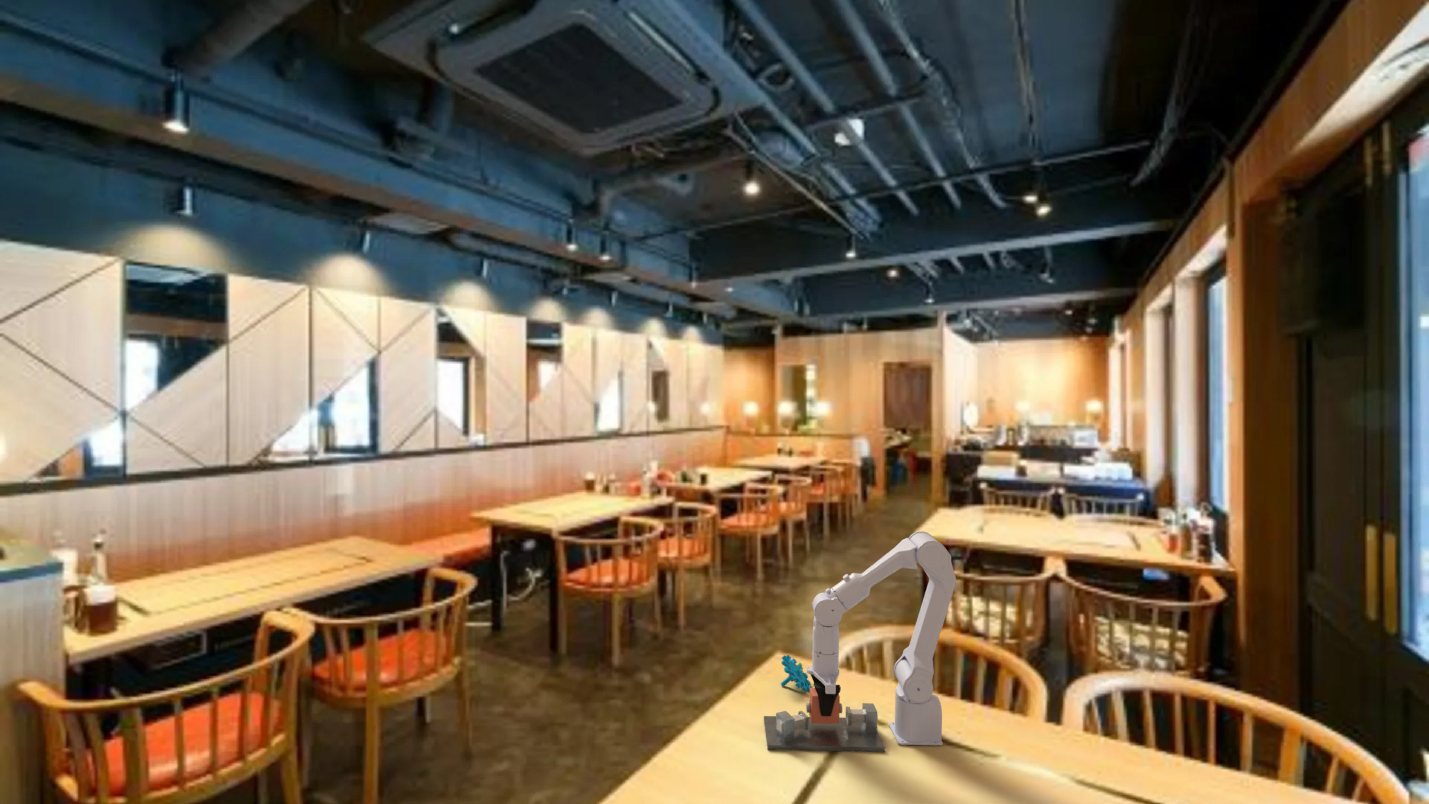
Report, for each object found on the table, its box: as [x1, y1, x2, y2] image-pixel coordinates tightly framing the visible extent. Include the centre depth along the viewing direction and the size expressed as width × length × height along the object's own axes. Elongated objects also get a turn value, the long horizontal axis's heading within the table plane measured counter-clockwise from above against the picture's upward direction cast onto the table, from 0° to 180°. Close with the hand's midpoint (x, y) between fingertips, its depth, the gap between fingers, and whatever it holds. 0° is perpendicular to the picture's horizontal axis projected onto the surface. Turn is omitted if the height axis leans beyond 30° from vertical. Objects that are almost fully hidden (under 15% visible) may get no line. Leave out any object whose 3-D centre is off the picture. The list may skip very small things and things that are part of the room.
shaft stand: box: [763, 702, 886, 753], centre depth 136 cm, size 24×12×6 cm, turn 90°
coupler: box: [805, 687, 843, 724], centre depth 138 cm, size 8×4×6 cm, turn 90°
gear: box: [780, 654, 812, 693], centre depth 159 cm, size 11×6×10 cm
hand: (824, 710), depth 138 cm, fingers closed on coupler, 4 cm apart
